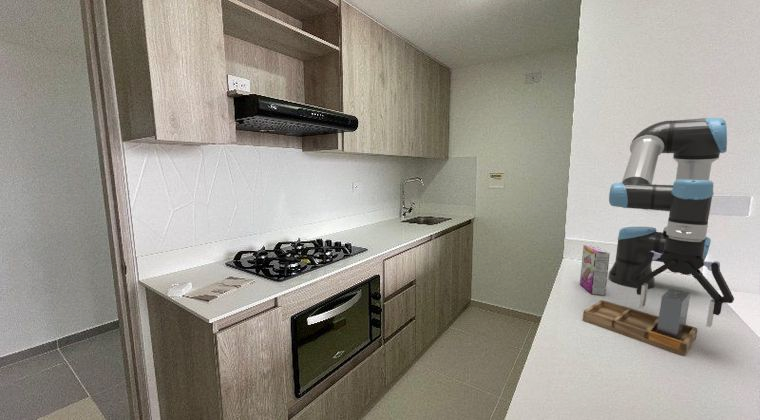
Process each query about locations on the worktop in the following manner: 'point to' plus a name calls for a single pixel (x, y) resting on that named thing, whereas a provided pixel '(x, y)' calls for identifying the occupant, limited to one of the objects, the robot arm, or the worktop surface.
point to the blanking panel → (673, 313)
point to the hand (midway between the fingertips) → (673, 315)
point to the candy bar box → (594, 269)
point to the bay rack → (637, 326)
